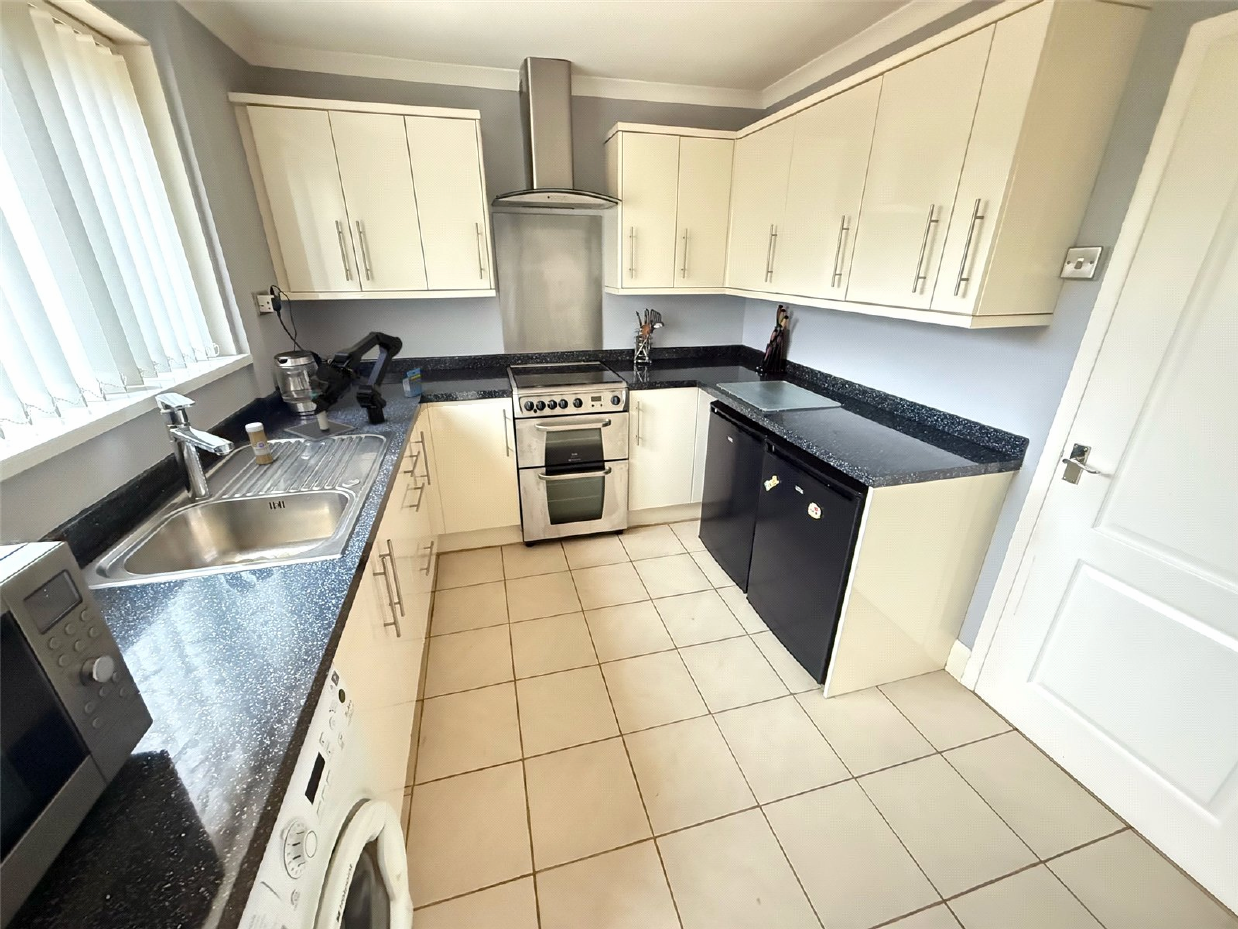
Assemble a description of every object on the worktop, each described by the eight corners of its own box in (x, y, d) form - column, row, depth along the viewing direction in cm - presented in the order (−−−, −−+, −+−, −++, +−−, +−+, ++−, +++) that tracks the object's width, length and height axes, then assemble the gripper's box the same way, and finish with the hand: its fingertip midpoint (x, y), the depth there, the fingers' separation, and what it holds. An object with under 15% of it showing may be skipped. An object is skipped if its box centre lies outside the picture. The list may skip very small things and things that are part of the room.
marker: (331, 428, 191) (322, 394, 185) (323, 431, 189) (313, 396, 183) (326, 427, 193) (317, 393, 187) (318, 430, 190) (309, 395, 184)
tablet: (355, 429, 194) (355, 427, 194) (315, 442, 182) (314, 439, 181) (324, 420, 204) (323, 418, 204) (283, 431, 192) (283, 429, 192)
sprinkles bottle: (262, 466, 162) (249, 427, 156) (254, 463, 164) (242, 425, 159) (276, 461, 166) (264, 423, 160) (269, 458, 168) (257, 421, 162)
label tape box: (416, 392, 243) (412, 367, 238) (423, 392, 242) (419, 368, 237) (404, 397, 235) (400, 371, 230) (412, 397, 234) (407, 372, 229)
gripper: (329, 363, 190) (306, 392, 193) (310, 374, 173) (285, 406, 176) (355, 381, 194) (332, 410, 197) (339, 395, 177) (314, 425, 180)
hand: (316, 412), depth 188 cm, fingers closed on marker, 3 cm apart
